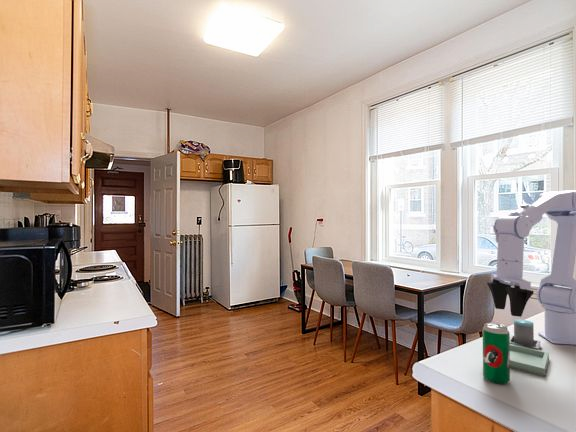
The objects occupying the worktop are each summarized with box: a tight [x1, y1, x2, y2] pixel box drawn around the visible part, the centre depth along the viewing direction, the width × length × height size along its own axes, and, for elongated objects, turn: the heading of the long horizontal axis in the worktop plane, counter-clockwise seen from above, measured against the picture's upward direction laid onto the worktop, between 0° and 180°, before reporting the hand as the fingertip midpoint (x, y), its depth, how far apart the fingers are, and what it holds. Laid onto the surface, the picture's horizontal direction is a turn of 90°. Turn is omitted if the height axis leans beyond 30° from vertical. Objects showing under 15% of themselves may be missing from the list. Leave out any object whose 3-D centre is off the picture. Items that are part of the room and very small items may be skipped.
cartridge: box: [513, 318, 535, 347], centre depth 90 cm, size 4×4×7 cm
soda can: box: [482, 322, 511, 385], centre depth 72 cm, size 5×5×12 cm
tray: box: [510, 344, 550, 378], centre depth 81 cm, size 12×12×2 cm
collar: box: [510, 335, 541, 350], centre depth 90 cm, size 7×7×2 cm
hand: (507, 312), depth 85 cm, fingers open, 7 cm apart
